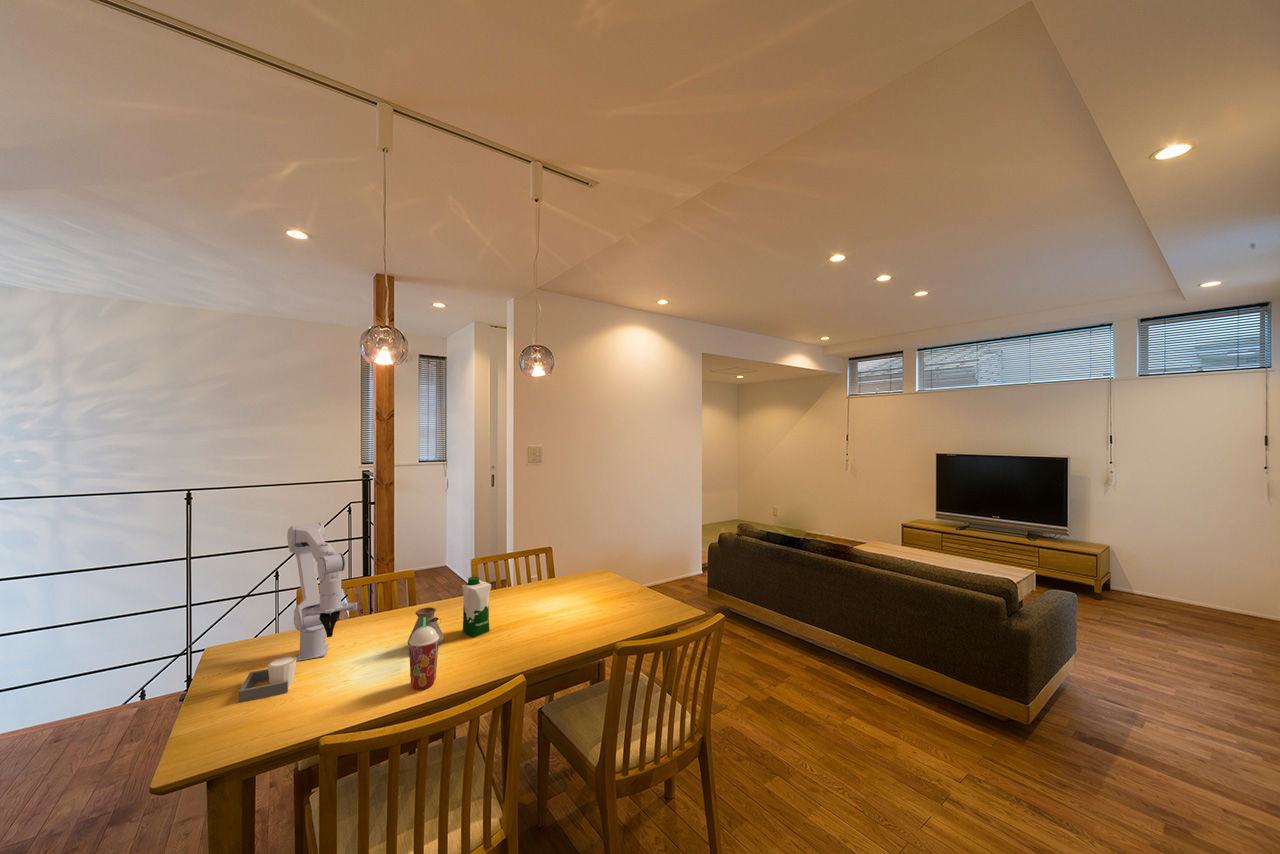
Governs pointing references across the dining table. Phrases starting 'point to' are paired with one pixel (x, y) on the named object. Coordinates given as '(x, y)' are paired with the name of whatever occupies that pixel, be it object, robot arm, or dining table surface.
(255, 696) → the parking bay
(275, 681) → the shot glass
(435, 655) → the smoothie
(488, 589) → the milk carton
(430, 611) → the coffee pot
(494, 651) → the dining table surface
